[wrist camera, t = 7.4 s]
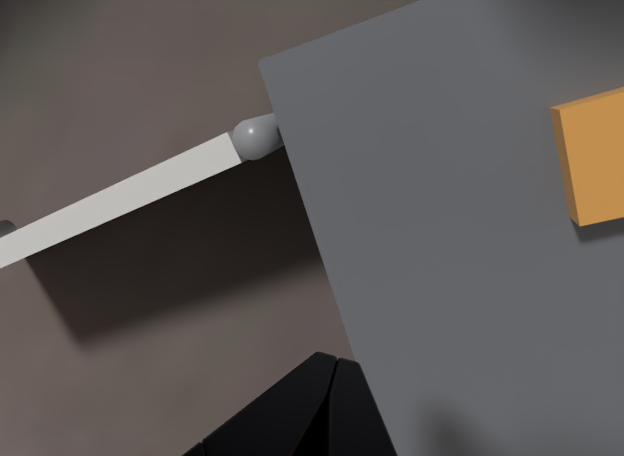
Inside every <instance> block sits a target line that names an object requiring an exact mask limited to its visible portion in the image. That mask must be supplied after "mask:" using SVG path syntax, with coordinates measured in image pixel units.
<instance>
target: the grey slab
mask: <svg viewBox="0 0 624 456" xmlns="http://www.w3.org/2000/svg"><path fill="white" fill-rule="evenodd" d="M257 63H258V66H259V69H260V72H261V75H262V78H263V81H264V84H265V87H266V90H267V93H268V96H269V99H270V102H271V105H272V108H273V111H274V114H275V117H276V120H277V124H278V127H279V130H280V133H281V136H282V139H283V142H284V145H285V148H286V151H287V154H288V157H289V160H290V163H291V166H292V169H293V172H294V175H295V178H296V181H297V184H298V187H299V190H300V194H301V197H302V200H303V203H304V206H305V209H306V212H307V215H308V218H309V221H310V224H311V227H312V230H313V233H314V236H315V239H316V242H317V245H318V248H319V251H320V254H321V257H322V260H323V264H324V267H325V270H326V273H327V276H328V279H329V282H330V285H331V288H332V291H333V294H334V297H335V300H336V303H337V306H338V309H339V312H340V315H341V318H342V321H343V324H344V327H345V330H346V334H347V337H348V340H349V343H350V346H351V349H352V352H353V355H354V358H355V361H356V362H358V363H359V364H360V365H361V368H362V370H363V373H364V375H365V377H366V380H367V382H368V385H369V387H370V390H371V392H372V394H373V397H374V399H375V402H376V404H377V406H378V409H379V411H380V414H381V416H382V419H383V421H384V423H385V426H386V428H387V431H388V433H389V435H390V438H391V440H392V443H393V445H394V448H395V450H396V452H397V455H398V456H624V0H419V1H417V2H414V3H411V4H409V5H406V6H403V7H401V8H398V9H395V10H393V11H390V12H387V13H385V14H382V15H379V16H377V17H374V18H371V19H369V20H366V21H363V22H361V23H358V24H355V25H352V26H350V27H347V28H344V29H342V30H339V31H336V32H334V33H331V34H328V35H326V36H323V37H320V38H318V39H315V40H312V41H310V42H307V43H304V44H302V45H299V46H296V47H294V48H291V49H288V50H286V51H283V52H280V53H277V54H275V55H272V56H269V57H267V58H264V59H261V60H259V61H257Z"/></svg>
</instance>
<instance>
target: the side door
mask: <svg viewBox="0 0 624 456" xmlns="http://www.w3.org/2000/svg"><path fill="white" fill-rule="evenodd" d="M282 146H284V142H283V139H282V136H281V133H280V130H279V127H278V124H277V120H276V117H275V114H274V113H271V114H267V115H263V116H259V117H256V118H252V119H248V120H244V121H242V122H240V123H239V124H238V125H237V126H236V127H235V129H234V130H233V131H230V132H227V133H224V134H222V135H220V136H218V137H216V138H214V139H212V140H209V141H207V142H205V143H203V144H201V145H199V146H197V147H194V148H192V149H190V150H188V151H186V152H184V153H181V154H179V155H177V156H175V157H173V158H171V159H169V160H166V161H164V162H162V163H160V164H158V165H156V166H154V167H151V168H149V169H147V170H145V171H143V172H141V173H139V174H136V175H134V176H132V177H130V178H128V179H126V180H123V181H121V182H119V183H117V184H115V185H113V186H111V187H108V188H106V189H104V190H102V191H100V192H98V193H96V194H93V195H91V196H89V197H87V198H85V199H83V200H81V201H78V202H76V203H74V204H72V205H70V206H68V207H66V208H63V209H61V210H59V211H57V212H55V213H53V214H50V215H48V216H46V217H44V218H42V219H40V220H38V221H35V222H33V223H31V224H29V225H27V226H25V227H23V228H20V229H18V230H17V229H16V227H15V225H14V224H13V223H12V222H10V221H8V220H3V221H0V268H2V267H4V266H6V265H9V264H11V263H13V262H16V261H18V260H20V259H22V258H25V257H27V256H29V255H32V254H34V253H36V252H38V251H41V250H43V249H45V248H48V247H50V246H52V245H55V244H57V243H59V242H61V241H64V240H66V239H68V238H71V237H73V236H75V235H77V234H80V233H82V232H84V231H87V230H89V229H91V228H93V227H96V226H98V225H100V224H103V223H105V222H107V221H110V220H112V219H114V218H116V217H119V216H121V215H123V214H126V213H128V212H130V211H132V210H135V209H137V208H139V207H142V206H144V205H146V204H148V203H151V202H153V201H155V200H158V199H160V198H162V197H164V196H167V195H169V194H171V193H174V192H176V191H178V190H181V189H183V188H185V187H187V186H190V185H192V184H194V183H197V182H199V181H201V180H203V179H206V178H208V177H210V176H213V175H215V174H217V173H219V172H222V171H224V170H226V169H229V168H231V167H233V166H236V165H238V164H240V163H242V162H244V161H246V160H248V159H249V160H257V159H260V158H262V157H264V156H266V155H267V154H269V153H271V152H273V151H275V150H277V149H278V148H280V147H282Z"/></svg>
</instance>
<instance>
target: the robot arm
mask: <svg viewBox="0 0 624 456" xmlns="http://www.w3.org/2000/svg"><path fill="white" fill-rule="evenodd" d="M314 455H315V456H398V455H397V452H396V450H395V448H394V445H393V443H392V440H391V438H390V435H389V433H388V431H387V428H386V426H385V423H384V421H383V419H382V416H381V414H380V411H379V409H378V406H377V404H376V402H375V399H374V397H373V394H372V392H371V390H370V387H369V385H368V382H367V380H366V377H365V375H364V373H363V370H362V368H361V365H360V364H359V363H358V362H355V361H352V360H348V359H344V358H339V359H338V361H337V357H336V356H333V355H330V354H326V353H323V352H316V353H314V354H313V355H312V356H310V357H309V358H308V359H307V360H305V361H304V362H303V363H301V364H300V365H299V366H297V367H296V368H295V369H294V370H292V371H291V372H290V373H288V374H287V375H286V376H285V377H283V378H282V379H281V380H279V381H278V382H277V383H276V384H274V385H273V386H272V387H270V388H269V389H268V390H266V391H265V392H264V393H263V394H261V395H260V396H259V397H257V398H256V399H255V400H254V401H252V402H251V403H250V404H248V405H247V406H246V407H245V408H243V409H242V410H241V411H239V412H238V413H237V414H235V415H234V416H233V417H232V418H230V419H229V420H228V421H226V422H225V423H224V424H223V425H221V426H220V427H219V428H217V429H216V430H215V431H213V432H212V433H211V434H210V435H208V436H207V437H206V438H204V439H203V440H202V443H201V442H199V443H198V444H196V445H195V446H194V447H192V448H191V449H190V450H189V451H187V452H186V453H185V454H184V455H182V456H314Z"/></svg>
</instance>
